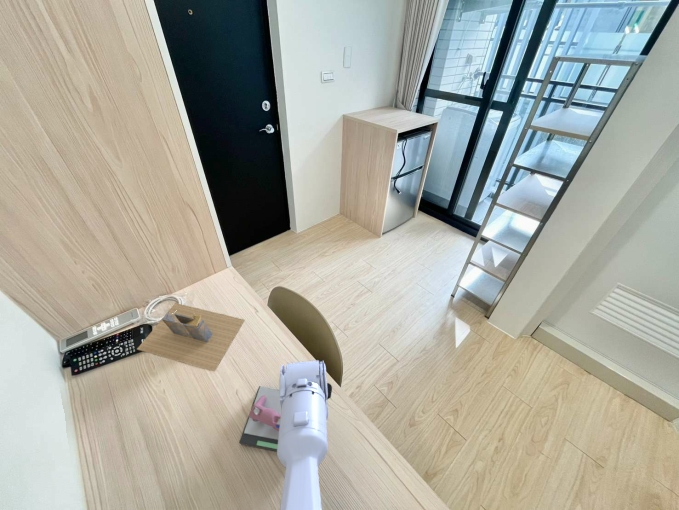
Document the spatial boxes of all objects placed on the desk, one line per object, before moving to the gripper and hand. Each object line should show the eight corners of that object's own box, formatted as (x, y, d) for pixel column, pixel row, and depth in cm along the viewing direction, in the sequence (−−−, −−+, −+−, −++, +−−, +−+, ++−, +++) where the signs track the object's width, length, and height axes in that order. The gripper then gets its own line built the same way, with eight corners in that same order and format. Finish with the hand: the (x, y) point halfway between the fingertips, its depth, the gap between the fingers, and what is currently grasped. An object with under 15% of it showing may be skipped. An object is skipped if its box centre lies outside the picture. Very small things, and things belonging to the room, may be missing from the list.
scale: (297, 456, 59) (296, 453, 57) (241, 444, 60) (238, 442, 58) (310, 397, 67) (309, 393, 65) (260, 388, 68) (258, 384, 67)
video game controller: (256, 413, 63) (241, 420, 57) (263, 393, 65) (250, 397, 58) (293, 430, 61) (283, 439, 54) (300, 409, 62) (291, 415, 56)
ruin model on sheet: (245, 319, 83) (236, 300, 76) (214, 371, 72) (201, 354, 65) (175, 303, 88) (161, 283, 81) (136, 349, 76) (116, 331, 69)
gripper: (297, 358, 51) (304, 385, 60) (271, 451, 40) (284, 466, 50) (334, 364, 50) (335, 391, 59) (317, 460, 39) (322, 474, 49)
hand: (314, 426), depth 54 cm, fingers open, 7 cm apart
